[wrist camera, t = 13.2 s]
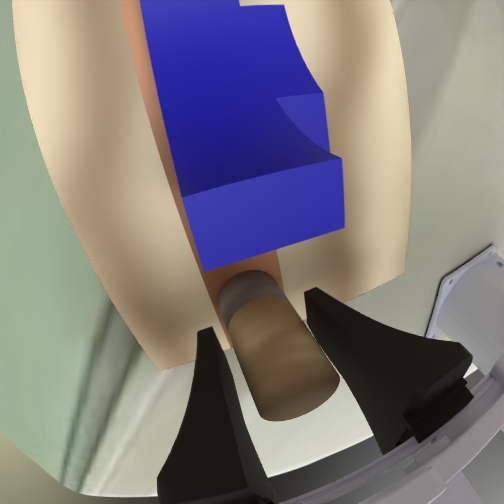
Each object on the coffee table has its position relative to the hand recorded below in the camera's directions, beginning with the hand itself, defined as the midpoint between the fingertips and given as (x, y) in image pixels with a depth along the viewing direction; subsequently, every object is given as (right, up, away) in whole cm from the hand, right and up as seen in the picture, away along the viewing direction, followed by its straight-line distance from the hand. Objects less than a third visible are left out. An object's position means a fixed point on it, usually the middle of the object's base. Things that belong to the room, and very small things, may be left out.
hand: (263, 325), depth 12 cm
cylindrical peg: (-1, +1, +2) cm, 2 cm away
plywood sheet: (0, +8, -2) cm, 8 cm away
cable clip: (-2, +11, -4) cm, 12 cm away
